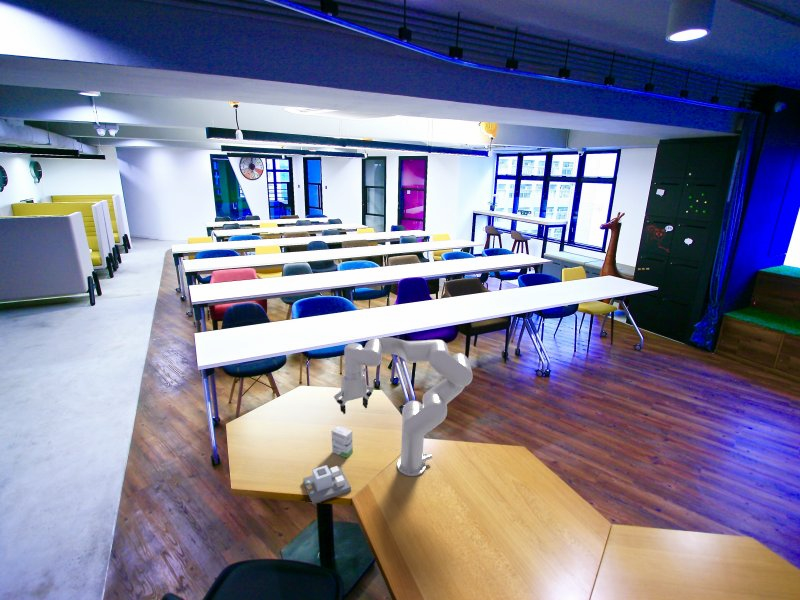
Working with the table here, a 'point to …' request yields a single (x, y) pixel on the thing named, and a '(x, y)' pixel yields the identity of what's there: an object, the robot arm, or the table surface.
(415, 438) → the robot arm
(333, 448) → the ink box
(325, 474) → the cap
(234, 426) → the table surface
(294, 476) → the table surface
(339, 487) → the breaker panel
